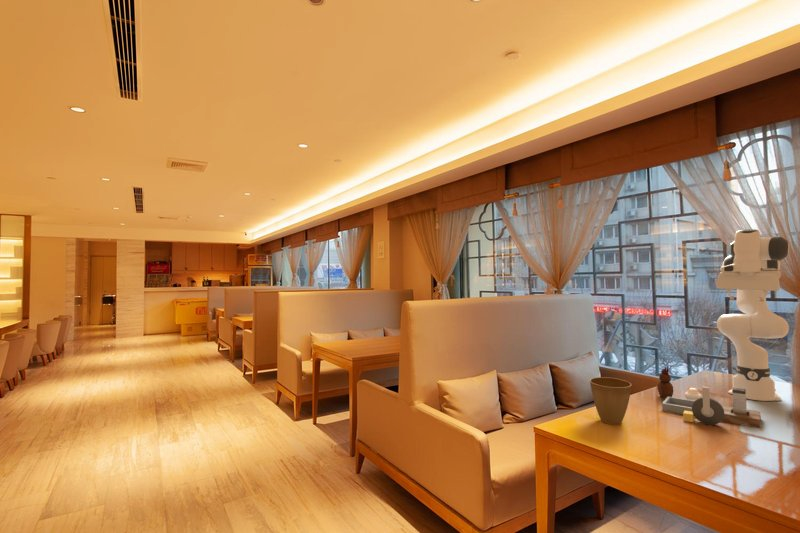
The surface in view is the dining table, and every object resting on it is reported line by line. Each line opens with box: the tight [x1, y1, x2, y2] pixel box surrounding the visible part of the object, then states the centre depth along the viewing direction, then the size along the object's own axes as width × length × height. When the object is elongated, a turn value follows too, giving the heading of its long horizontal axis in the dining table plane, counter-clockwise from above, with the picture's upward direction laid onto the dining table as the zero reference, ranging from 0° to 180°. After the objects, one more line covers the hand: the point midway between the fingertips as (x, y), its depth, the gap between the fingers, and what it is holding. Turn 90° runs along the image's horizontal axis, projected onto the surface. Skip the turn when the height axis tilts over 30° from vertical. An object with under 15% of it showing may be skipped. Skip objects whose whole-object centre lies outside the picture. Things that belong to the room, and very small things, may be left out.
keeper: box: [721, 405, 762, 428], centre depth 162 cm, size 12×12×3 cm
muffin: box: [684, 387, 702, 401], centre depth 184 cm, size 6×6×7 cm
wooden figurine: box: [657, 366, 674, 399], centre depth 193 cm, size 7×6×15 cm
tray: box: [661, 396, 695, 415], centre depth 175 cm, size 13×13×3 cm
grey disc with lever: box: [682, 386, 724, 426], centre depth 159 cm, size 7×13×15 cm, turn 47°
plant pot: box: [589, 376, 632, 426], centre depth 162 cm, size 15×15×16 cm
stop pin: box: [731, 386, 748, 415], centre depth 162 cm, size 4×4×12 cm
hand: (746, 300), depth 170 cm, fingers open, 8 cm apart
